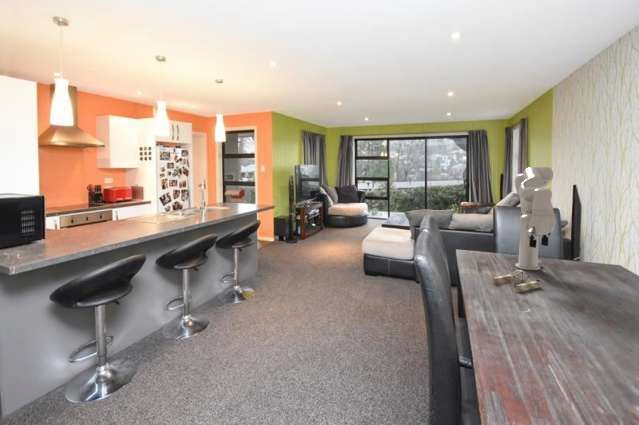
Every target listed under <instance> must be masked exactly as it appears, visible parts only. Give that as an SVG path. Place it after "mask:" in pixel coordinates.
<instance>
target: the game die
mask: <svg viewBox="0 0 639 425" xmlns="http://www.w3.org/2000/svg"><path fill="white" fill-rule="evenodd" d="M524 270H525V269H514V268H512V273H510V274H511V276H510V277H508V278H511V279H512V281H511V282H513V283H514V286H515V287H516V285H519V284H523V283H527V281H528V279H529V275H527V273H526V272H525V271H524Z"/></svg>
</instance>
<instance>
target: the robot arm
mask: <svg viewBox="0 0 639 425" xmlns="http://www.w3.org/2000/svg"><path fill="white" fill-rule="evenodd" d="M553 178H554V171H553V169H552V168H551V167H549V166H531V167H527V168H526V169H524V171H523V173H519V174H517V175H516V176H515V178H514V186H515V191H516V192H517V194H518V196H519V203H520V204H519V205H520V211H521V214H522V215H521V216H520V217H519V220H518V222H519V224H518V225H519V245H518V246H519V247H518V248H519V249H518V262H517V263H515V267H516V268H518V269H520V270H522V269H524V270H528V271H537V270H538V271H539V270H541V266H540V265H539V264H541V263H542V260H541V259H538V258H539V246H540V245H541V246H544V247H549V238H550V236H551V232H553V231H554V230H555V228H556V220H555V218H556V217H555V214H554V206H553V204H552V201H551V199H552V198H553V191H552V190H551V189H550V188H548V187H547V186H548V185H549V184H550V183H551V182H552V180H553ZM539 236H542V237H541V241H539V240H540V239H539V238H540V237H539ZM540 242H541V243H540ZM539 243H540V245H539Z"/></svg>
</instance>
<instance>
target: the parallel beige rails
mask: <svg viewBox="0 0 639 425" xmlns="http://www.w3.org/2000/svg"><path fill="white" fill-rule="evenodd" d="M511 274H512V273H509V274H507V275H506V274H504V275H500V276H495V277H492V284H494V285H500V284H503V283H508V282H509V283H510V282H513V281H512V279H511V278H508V277H510V276H511ZM541 281H542V279H539V278H535V280H533V281H530V282H529V281H528V282H526V283H523V284H516V285H515V287H514V288H515V292H517V293H520V292H525V291H528V290H529V291H531V290H534V289H538V288H541Z"/></svg>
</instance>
